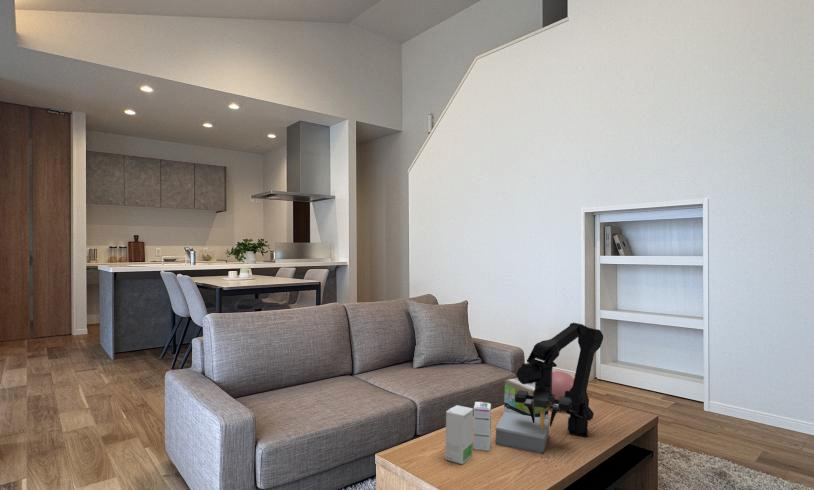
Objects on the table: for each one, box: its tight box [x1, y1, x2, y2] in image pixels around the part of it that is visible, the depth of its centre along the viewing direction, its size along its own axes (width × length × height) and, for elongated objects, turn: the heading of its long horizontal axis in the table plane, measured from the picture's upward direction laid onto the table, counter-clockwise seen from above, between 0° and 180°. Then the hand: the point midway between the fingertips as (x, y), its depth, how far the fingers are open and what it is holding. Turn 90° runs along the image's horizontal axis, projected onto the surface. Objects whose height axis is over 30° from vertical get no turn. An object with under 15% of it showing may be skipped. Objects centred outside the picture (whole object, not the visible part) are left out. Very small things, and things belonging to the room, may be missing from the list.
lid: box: [495, 411, 550, 439], centre depth 162 cm, size 16×16×6 cm
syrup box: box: [472, 401, 492, 452], centre depth 156 cm, size 6×6×14 cm
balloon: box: [550, 370, 575, 407], centre depth 194 cm, size 15×20×15 cm
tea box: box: [503, 377, 550, 419], centre depth 182 cm, size 15×10×15 cm, turn 33°
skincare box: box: [444, 404, 474, 465], centre depth 148 cm, size 8×7×16 cm
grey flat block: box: [495, 424, 550, 455], centre depth 163 cm, size 16×16×5 cm
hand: (542, 424), depth 160 cm, fingers open, 5 cm apart
